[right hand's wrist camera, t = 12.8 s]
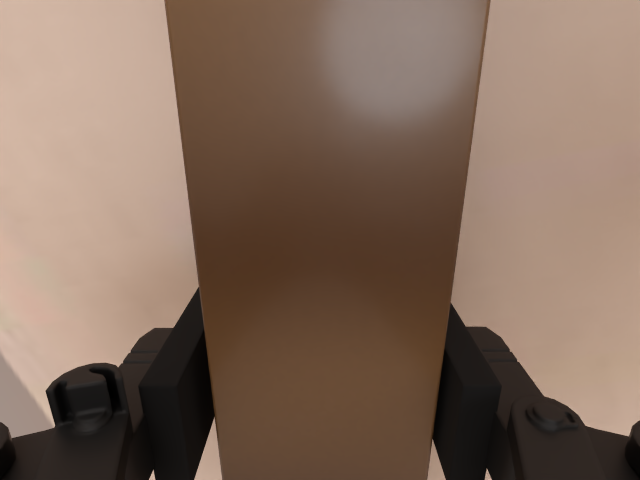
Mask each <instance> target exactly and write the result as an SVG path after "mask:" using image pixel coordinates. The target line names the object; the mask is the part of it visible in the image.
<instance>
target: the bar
mask: <svg viewBox="0 0 640 480" xmlns="http://www.w3.org/2000/svg"><path fill="white" fill-rule="evenodd" d="M165 8H166V17H167V25H168V33H169V42H170V50H171V58H172V66H173V75H174V83H175V91H176V100H177V108H178V116H179V124H180V133H181V141H182V149H183V158H184V166H185V174H186V182H187V191H188V199H189V207H190V216H191V224H192V232H193V240H194V249H195V257H196V265H197V274H198V282H199V290H200V298H201V307H202V315H203V323H204V332H205V340H206V348H207V356H208V365H209V373H210V381H211V390H212V398H213V406H214V414H215V423H216V431H217V439H218V448H219V456H220V464H221V472H222V480H427V476H428V469H429V461H430V453H431V446H432V438H433V431H434V423H435V416H436V408H437V401H438V393H439V385H440V378H441V370H442V363H443V355H444V348H445V340H446V333H447V325H448V317H449V310H450V302H451V295H452V287H453V280H454V272H455V265H456V257H457V250H458V242H459V234H460V227H461V219H462V212H463V204H464V197H465V189H466V182H467V174H468V166H469V159H470V151H471V144H472V136H473V129H474V121H475V114H476V106H477V98H478V91H479V83H480V76H481V68H482V61H483V53H484V46H485V38H486V30H487V23H488V15H489V8H490V0H165Z"/></svg>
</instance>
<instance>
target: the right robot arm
mask: <svg viewBox="0 0 640 480" xmlns="http://www.w3.org/2000/svg"><path fill="white" fill-rule="evenodd" d="M46 394H47V398H48V401H49V405H50V408H51V412H52V415H53V419H54V422H55V428H52V429H49V430H45V431H41V432H37V433H33V434H28V435H24V436H20V437H15V438H11V435H10V432H9V429H8V427H7V426H5V425H4V424H3V423H1V422H0V480H149V478H150V476H151V474H152V471H153V469H154V474H155V479H156V480H194V478H195V475H196V472H197V469H198V466H199V463H200V460H201V457H202V453H203V450H204V447H205V444H206V441H207V438H208V435H209V432H210V429H211V426H212V423H213V419H214V416H215V414H214V406H213V398H212V390H211V381H210V373H209V365H208V356H207V348H206V340H205V332H204V323H203V315H202V307H201V298H200V290H199V288H198V289H197V291H196V292H195V294H194V296H193V297H192V299H191V301H190V302H189V304H188V305H187V307H186V309H185V310H184V312H183V314H182V315H181V317H180V318H179V320H178V322H177V323H176V325H175V327H174V328H154V329H152V330H151V331H150V332H148V333H147V334H145V335H144V336H142V337H141V338H140V339H139V340H138V341H137V343H136V344H135V345H134V347H133V348H132V350H131V353H129V354H128V355H127V357H126V358H125V359H124V361H123V364H121V365H120V366H119V368H118V367H117V366H116V365H113V364H108V363H93V364H88V365H85V366H81V367H77V368H75V369H73V370H71V371H69V372H66V373H64V374H63V375H61V376H60V377H59V378H57V379H56V380H54V381H53V382H52V383H51V385H50V386H49V387H48V388H47V390H46ZM433 441H434V444H435V447H436V450H437V453H438V457H439V460H440V463H441V466H442V469H443V472H444V475H445V478H446V480H484V479H485V474H486V469H488V472H489V474H490V476H491V478H492V480H640V421H638V422H637V423H636V424H634V425H633V426H632V429H631V432H630V435H629V437H628V436H624V435H620V434H615V433H611V432H607V431H602V430H598V429H594V428H591V427H587V426H585V425H584V423H583V422H582V420H581V419H580V417H579V416H578V415H577V414H576V413H575V412H574V411H573V410H571V409H570V408H569V407H568V406H566V405H564V404H562V403H560V402H558V401H556V400H554V399H551V398H547V397H544V396H543V394H542V393H541V392H540V390H539V389H538V388H537V386H536V385H535V384H534V382H533V381H532V379H531V378H530V377H529V375H528V374H527V373H526V371H525V370H524V368H523V367H522V366H521V364H520V363H519V362H517V359H516V357H515V356H514V355H513V353H512V352H510V349H509V348H508V347H507V345H506V344H505V342H504V341H503V340H502V338H501V337H500V336H498V335H497V334H495V333H494V332H492V331H491V330H490V329H488V328H487V327H465V325H464V323H463V322H462V320H461V318H460V317H459V315H458V314H457V312H456V310H455V309H454V307H453V305H452V304H451V302H450V310H449V317H448V325H447V333H446V340H445V348H444V355H443V363H442V370H441V378H440V385H439V393H438V401H437V408H436V416H435V423H434V431H433Z"/></svg>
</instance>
